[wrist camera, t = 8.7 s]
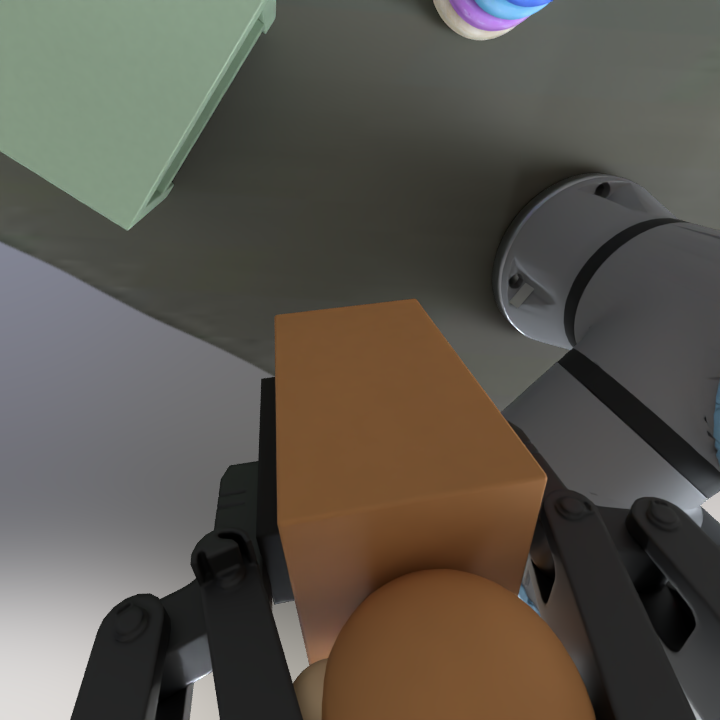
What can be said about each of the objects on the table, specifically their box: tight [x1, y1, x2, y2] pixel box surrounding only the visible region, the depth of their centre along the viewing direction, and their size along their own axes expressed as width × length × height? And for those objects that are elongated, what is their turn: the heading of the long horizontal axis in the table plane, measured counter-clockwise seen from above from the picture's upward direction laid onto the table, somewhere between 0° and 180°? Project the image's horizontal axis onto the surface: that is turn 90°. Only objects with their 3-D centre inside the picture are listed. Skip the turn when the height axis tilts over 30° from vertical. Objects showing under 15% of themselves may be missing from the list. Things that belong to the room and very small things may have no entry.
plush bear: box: [275, 299, 596, 720], centre depth 11 cm, size 6×6×14 cm
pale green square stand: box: [0, 0, 276, 230], centre depth 22 cm, size 13×14×10 cm
